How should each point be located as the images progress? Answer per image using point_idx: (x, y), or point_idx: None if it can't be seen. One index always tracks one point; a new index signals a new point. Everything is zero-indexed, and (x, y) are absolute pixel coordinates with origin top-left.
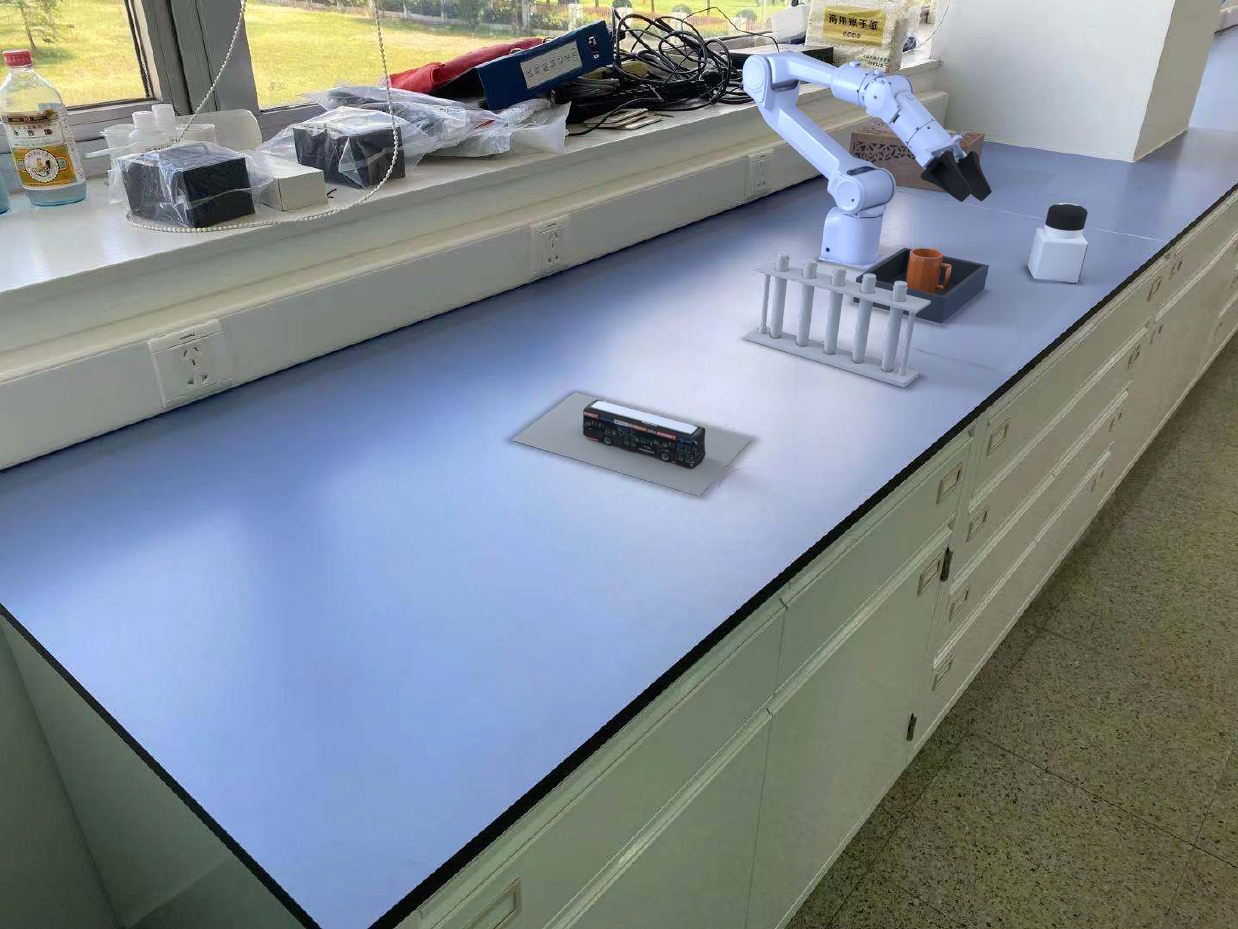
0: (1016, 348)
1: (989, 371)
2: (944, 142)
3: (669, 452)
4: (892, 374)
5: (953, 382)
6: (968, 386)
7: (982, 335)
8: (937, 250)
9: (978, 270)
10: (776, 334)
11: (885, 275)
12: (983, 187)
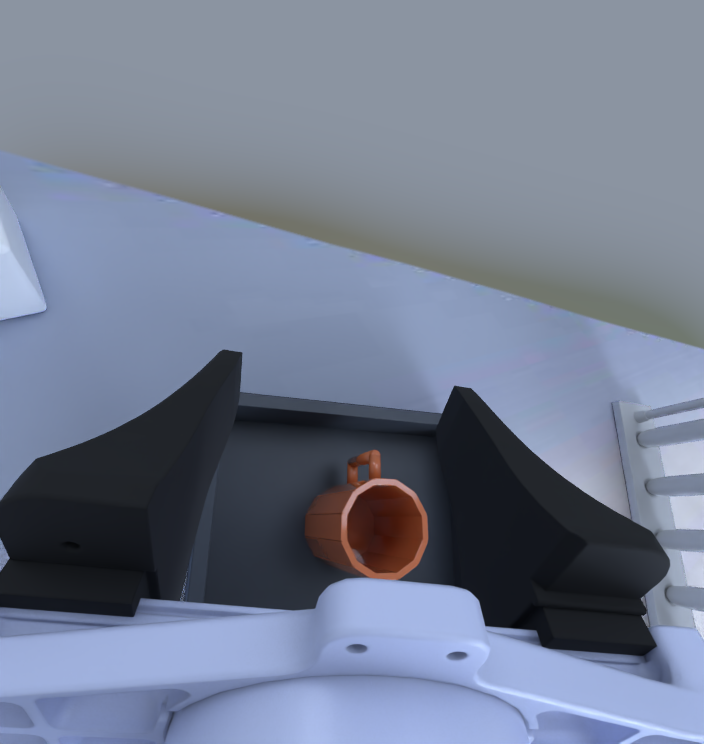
0: (451, 301)
1: (539, 323)
2: (507, 719)
3: None
4: (647, 428)
5: (592, 358)
6: (588, 339)
7: (438, 356)
8: (345, 509)
9: (274, 403)
10: None
11: None
12: (233, 387)
